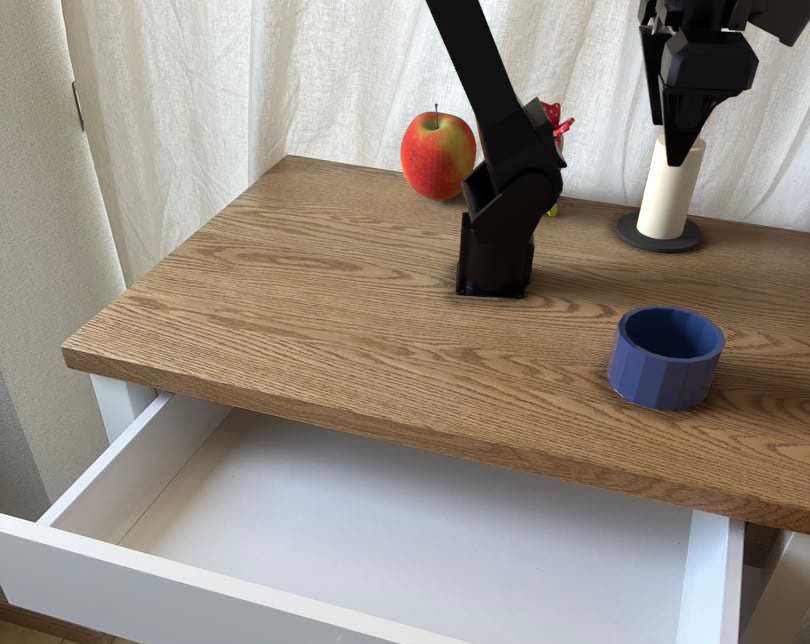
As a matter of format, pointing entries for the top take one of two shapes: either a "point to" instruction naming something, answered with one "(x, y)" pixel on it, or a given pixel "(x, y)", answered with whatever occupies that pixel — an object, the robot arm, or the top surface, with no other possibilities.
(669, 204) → the cream cylinder
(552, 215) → the bird rattle
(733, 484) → the top surface
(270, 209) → the top surface
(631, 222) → the coaster
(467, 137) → the apple
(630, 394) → the cup
